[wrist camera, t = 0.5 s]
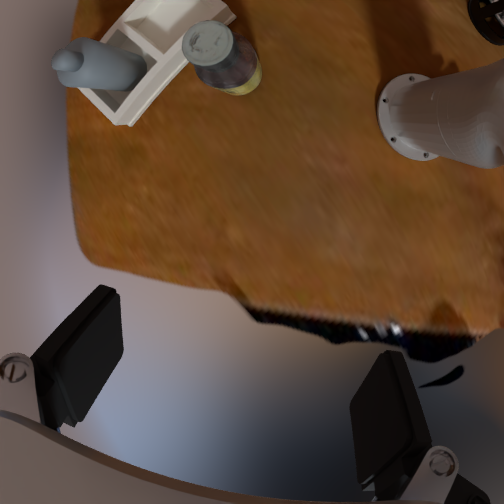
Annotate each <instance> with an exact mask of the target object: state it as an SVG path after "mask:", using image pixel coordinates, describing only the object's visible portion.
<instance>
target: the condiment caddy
mask: <svg viewBox="0 0 504 504" xmlns="http://www.w3.org/2000/svg"><path fill="white" fill-rule="evenodd" d="M236 18H237V17H236V15H235V14H233V13H232V12H231V10H230V9H229V7H228V5H227V4H225V3H224V2H222V1H221V0H135V1H134V2H133V3H132V4H131V6H130V7H129V8H128V9H127V10H126V11H125V12H124V13H123V14H122V15H121V16H120V18H119V19H118V20H117V21H116V22H115V23H114V24H113V26H112V27H111V28H110V29H109V30H108V32H107V33H106V34H105V35H104V36H103V38H102V39H101V40H100V41H96V40H93V39H89V38H85V37H82V38H78V39H75V40H73V41H72V42H70V43H69V44H68V45H67V46H66V47H65V49H59V50H58V51H57V52H56V53H55V54H54V56H53V58H52V62H51V64H52V68H53V69H55V70H57V75H58V78H59V80H60V82H61V83H62V84H63V85H65V86H67V87H78V88H79V90H80V91H81V92H82V93H83V94H84V95H85V96H86V97H87V98H88V99H89V100H90V101H91V102H92V103H93V104H94V105H95V106H96V107H97V108H98V109H99V110H100V111H101V112H102V113H103V114H104V115H105V116H106V117H107V118H108V119H109V120H110V121H111V122H112V123H113V124H114V125H125V124H127V125H128V126H133V125H134V124H135V122H136V121H137V120H138V119H139V117H140V116H141V115H142V114H143V112H144V111H145V110H146V109H147V108H148V106H149V105H150V104H151V103H152V102H153V101H154V99H155V98H156V97H157V96H158V95H159V94H160V93H161V91H162V90H163V89H164V88H165V87H166V86H167V85H168V84H169V83H170V81H171V80H172V79H173V78H174V77H175V76H176V75H177V74H178V73H179V72H180V71H181V70H182V69H183V68H184V67H185V66H186V64H187V63H188V62H189V61H188V60H187V59H186V58H185V56H184V54H183V51H182V41H183V37H184V35H185V33H186V32H187V31H188V30H189V28H190V27H192V26H193V25H194V24H197V23H199V22H201V21H206V20H216V21H219V22H222V23H223V24H225V25H226V26H228V25H229V24H230V23H231V22H232V21H233V20H235V19H236Z"/></svg>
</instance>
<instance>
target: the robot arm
mask: <svg viewBox="0 0 504 504" xmlns="http://www.w3.org/2000/svg"><path fill="white" fill-rule="evenodd" d="M409 78H410V79H411V81H410V80H409ZM383 99H385V102H383ZM377 119H378V124H379V127H380V130H381V132H382V134H383V136H384V138H385V139H386V141H387V142H388V144H389V145H390V146H391V147H392V148H393V149H394V150H395V151H397V152H398V153H400V154H401V155H403V156H405V157H407V158H410V159H413V160H420V161H426V160H431V159H434V158H436V157H438V156H443V157H446V158H450V159H453V160H456V161H460V162H463V163H466V164H469V165H473V166H476V167H479V168H496V167H499V166H502V165H504V58H503V59H501V60H499V61H497V62H494V63H492V64H489V65H487V66H483V67H479V68H475V69H471V70H467V71H462V72H458V73H454V74H449V75H445V76H441V77H437V78H432V79H431V78H429V77H427V76H424V75H421V74H414V73H410V74H403V75H400V76H398V77H396V78H394V79H392V80H391V81H390V82H388V83H387V84H386V86H385V87H384V88H383V89H382V92H381V94H380V96H379V99H378V103H377ZM391 138H393V141H391ZM424 153H425V156H424ZM123 350H124V347H123V337H122V324H121V307H120V296H119V294H117V293H116V290H115V289H114V288H111V287H108V286H105V285H99V286H98V287H97V288H96V289H95V290H94V291H93V292H92V293H91V294H90V295H89V296H88V297H87V298H86V299H85V300H84V301H83V302H82V303H81V304H80V305H79V306H78V307H77V308H76V309H75V310H74V311H73V312H72V313H71V314H70V315H69V316H68V317H67V318H66V319H65V320H64V321H63V322H62V323H61V324H60V325H59V326H58V327H57V328H56V329H55V331H53V333H52V334H51V335H50V336H49V337H48V338H47V339H46V340H45V341H44V342H43V344H42V345H41V346H40V347H39V348H38V349H37V350H36V352H35V353H34V354H33V355H32V356H31V357H30V358H29V357H27V356H26V355H25V354H21V353H10V354H7V355H5V356H3V357H2V358H1V359H0V504H490V499H489V497H488V496H487V494H486V493H485V492H483V491H482V490H481V489H479V488H478V487H476V486H475V485H473V484H472V483H471V482H469V481H468V480H466V479H465V478H463V477H462V476H461V475H459V474H458V473H457V472H458V468H459V465H458V460H457V457H456V456H455V454H454V453H453V452H452V451H451V450H450V449H448V448H446V447H443V446H436V447H433V448H432V445H431V442H432V440H431V436H430V433H429V430H428V426H427V423H426V420H425V417H424V414H423V410H422V407H421V404H420V401H419V399H418V395H417V392H416V389H415V387H414V384H413V381H412V378H411V376H410V373H409V370H408V367H407V364H406V362H405V359H404V357H403V354H402V353H401V352H398V351H391V350H386V351H385V352H384V353H381V354H380V355H379V356H378V358H377V359H376V361H375V363H374V365H373V366H372V368H371V370H370V371H369V373H368V375H367V376H366V378H365V380H364V381H363V383H362V384H361V386H360V387H359V389H358V391H357V392H356V394H355V395H354V397H353V399H352V400H351V403H350V414H351V422H352V431H353V440H354V449H355V458H356V469H357V479H358V483H359V484H361V485H362V491H372V490H375V498H374V499H373V500H372V501H371V502H313V501H295V500H285V499H275V498H266V497H259V496H251V495H245V494H239V493H234V492H228V491H223V490H218V489H213V488H209V487H204V486H200V485H196V484H192V483H188V482H185V481H181V480H177V479H174V478H170V477H167V476H164V475H160V474H157V473H154V472H151V471H148V470H145V469H142V468H139V467H137V466H134V465H131V464H128V463H126V462H123V461H120V460H118V459H116V458H113V457H111V456H108V455H106V454H104V453H101V452H99V451H97V450H94V449H92V448H90V447H87V446H85V445H83V444H81V443H79V442H77V441H74V440H72V439H70V438H68V437H66V436H64V435H62V434H61V432H60V428H59V427H61V425H62V424H63V422H64V423H66V424H68V425H70V426H72V427H75V425H76V424H77V422H82V421H83V420H84V418H85V416H86V415H87V413H88V411H89V409H90V408H91V406H92V404H93V403H94V401H95V399H96V398H97V396H98V394H99V393H100V391H101V390H102V388H103V386H104V384H105V383H106V381H107V380H108V378H109V376H110V375H111V373H112V372H113V370H114V369H115V367H116V365H117V364H118V362H119V361H120V359H121V357H122V354H123Z"/></svg>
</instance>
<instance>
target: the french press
mask: <svg viewBox="0 0 504 504" xmlns="http://www.w3.org/2000/svg"><path fill="white" fill-rule="evenodd" d="M479 2H484V3H487V4H489V5H487V6H485V7H482V8H480V5H479ZM468 13H469V16H470V19H471V21H472V23H473V25H474V26H475V28H476V29H477V31H478V32H479V33H480V34H481V35H482V36H483V37H484V38H485V39H486V40H487V41H489V42H490V43H492V44H495V45H499V46H500V45H504V36H503V37H502V38H501V37H500V36H498V35H497V34H496V33H495V32H494V31H493V30H492V29H491V28H490V27H489V25H488V24H487V22H486V21H485V18H487V17H490V16H492V15H494V17H495V18H496V20H497V21H498V22H499V24H500V25H501V26H502V27H503V28H504V0H469V2H468Z"/></svg>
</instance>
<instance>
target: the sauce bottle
mask: <svg viewBox="0 0 504 504" xmlns="http://www.w3.org/2000/svg"><path fill="white" fill-rule="evenodd" d="M182 51H183V54H184V56H185V58H186V59H187V60H188V61H189V62H190V63H192V64H193V65H194V66H195V71H196V73H197V75H198V77H199V78H200V79H201V80H202V81H203V82H204V83H205V84H207V85H209V86H211V87H213V88H216V89H218V90H221V91H223V92H226V93H228V94H231V95H244V94H247V93H249V92H251V91H253V90H254V89H255V88H256V87H257V86H258V84H259V83H260V80H261V77H262V69H261V65H260V62H259V60H258V57H257V54H256V52H255V50H254V48H253V47H252V45H251V43H250V42H249V41H248V40H247V39H246V38H245V37H244V36H242V35H240V34H238V33H236V32H232V31H231V30H230V28H229V27H228V26H226V25H225V24H223V23H222V22H219V21H216V20H206V21H201V22H199V23H197V24H194V25H193V26H192V27H190V28H189V30H188V31H187V32H186V33H185V35H184V37H183V41H182Z"/></svg>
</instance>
